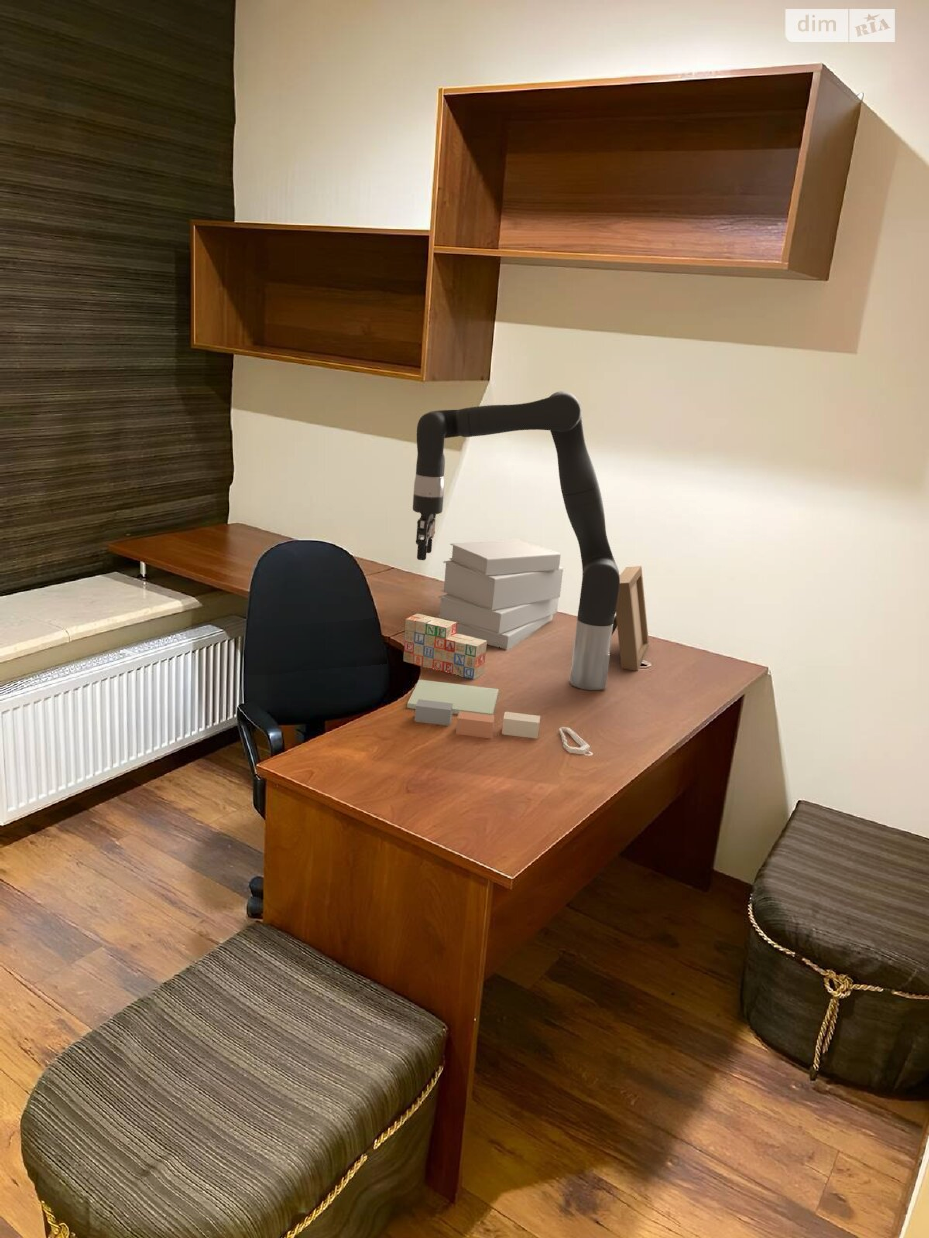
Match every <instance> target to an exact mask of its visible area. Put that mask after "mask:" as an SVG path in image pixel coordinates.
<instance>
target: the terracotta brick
mask: <svg viewBox="0 0 929 1238" xmlns="http://www.w3.org/2000/svg"><path fill="white" fill-rule="evenodd" d="M495 718H496V715H495V714H493V715H486V714H478V713H470V712H462V711H459V714H457V717H456V729H455V735H459V736H460V735H462V736H469V737H478V738H485V739H493V734H494V729H495V721H496V720H495Z"/></svg>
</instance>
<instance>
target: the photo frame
mask: <svg viewBox="0 0 929 1238" xmlns="http://www.w3.org/2000/svg"><path fill="white" fill-rule="evenodd" d="M642 568H643V567H642V565H636V566H627V567H625V568H624V569H623V570H622V572H621V573H619V576H620V585H619V593H618V599H617V606H616V613H615V617H614V623H613V630H612V636H613V634H614V632H615V631H616V630H617V636H618V648H619V656H620V657H619V658H620V665H621V668H622V669H626V670H631V671H637V672H639V669H640V667H641V665H642V663H643V661H644V658H645V656H646V654H647V652H648V649H649V647H650V640H649V630H648V629H649V628H648V621H647V612H646V610H647V609H646V601H645V600H646V598H645V590H644V578H643V569H642Z"/></svg>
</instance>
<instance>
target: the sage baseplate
mask: <svg viewBox="0 0 929 1238" xmlns="http://www.w3.org/2000/svg"><path fill="white" fill-rule="evenodd" d="M498 696H499V688H492V687H491V688H490V687H484V686H483V687H482V686H476V685H467V684H461V683H460V684H459V683H458V684H457V683H451V682H441V681H435V680H428V679H427V680H425V679H418V680H417V683H416V685H415V688H414V689H413V691H412V693H411V695H410V697H409V699H408V701H407V703H406V704H407V705H406V708H407V709H413V710H415V707H416V704H417V702H418V699H421V700H429V701H437V702H445V703H453V711H452V715H453V714H454V715H458V714H459V711H462V712H470V713H478V714H486V715H494V712H495V709H496V708H495V707H496V705H497V700H498Z"/></svg>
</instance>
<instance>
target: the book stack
mask: <svg viewBox="0 0 929 1238" xmlns="http://www.w3.org/2000/svg"><path fill="white" fill-rule="evenodd" d="M449 545H451V546H452V551H451V552H452V553H451V557H450V558H448V559H449V560H444V561H442V563H443V564H445V569H444V571H445V573H444V583H443V589H442V590H440V592H442V593H443V594H442V595H440V596H438V597H437V598H438V599H440V604H439V605H440V606H439V614H437V615H436V618H440V619H444V620H448V621H453V622H457V631H456V634H461V635H466V636H470V637H474V638H478V639H482V640H486V641H487V644H488V645H489V646H491V647H495V648H499V647H500V649H504V650H505V651H509V650H510V649H511V648H513V647H515V646H516V645H517V644H519V643H521V642H522V641H524V640H526V638H528V637H529V636H531V635H532V634H535V632H536V631H537V630H538V629H540V628H541V627H543V626H544V625H546V624H547V623H549V622H551V621H552V620H553V617H554V616H553V615H555V614H557V613H558V609H559V607H558V606H559V598H560V597H561V589H562V582H563V575H564V574H563V572H564V568H563V567H562V566H560V564H561V553H560V552H557V551H555V550H552V549H549V548H546V547H543V546H541V545H539V544H535V543H533V542H529V541H527V540H525V539H523V538H518V539H517V538H516V539H501V540H486V541H485V540H483V541H470V542H469V541H467V542H455V543H454V542H453V543H450V544H449Z"/></svg>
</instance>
